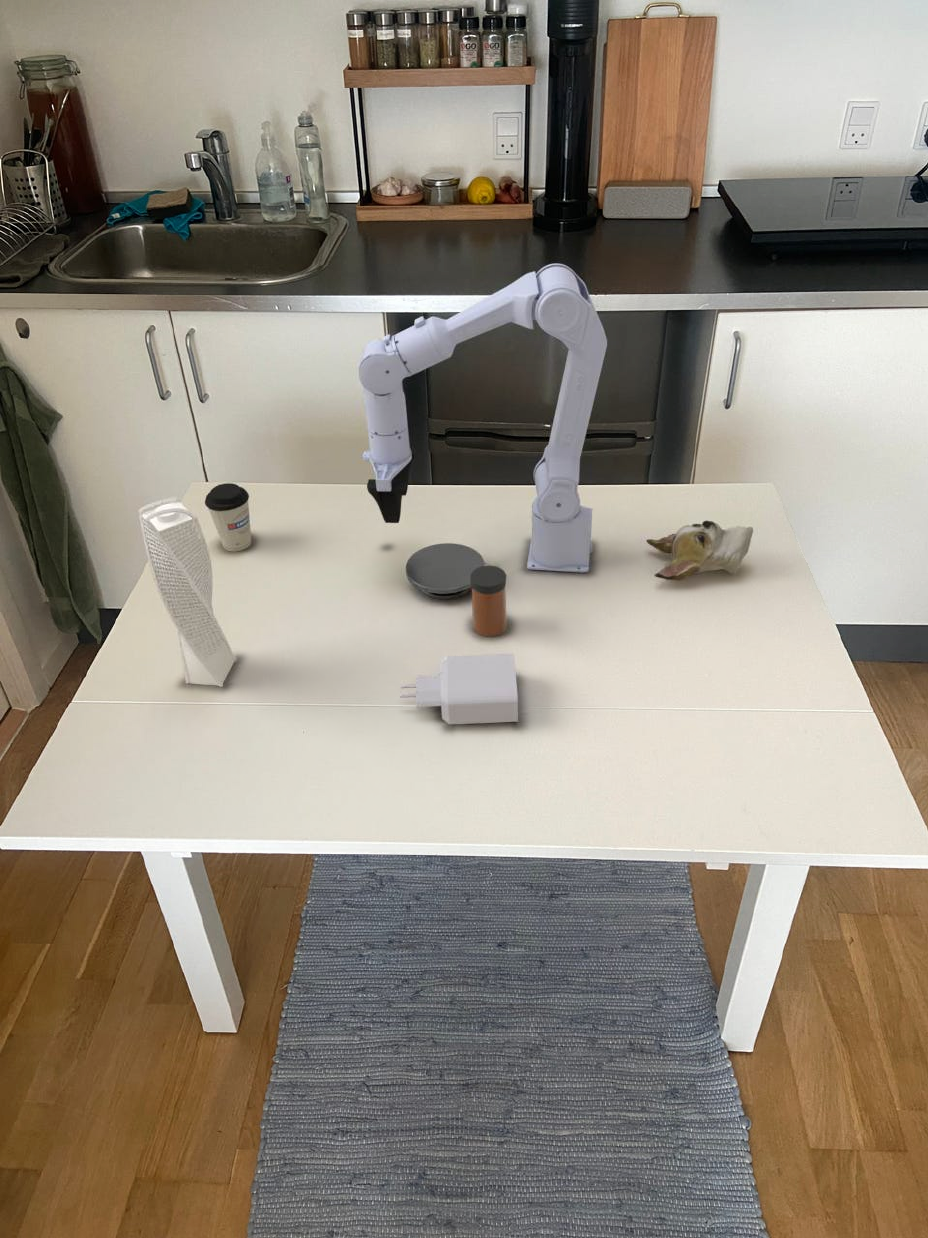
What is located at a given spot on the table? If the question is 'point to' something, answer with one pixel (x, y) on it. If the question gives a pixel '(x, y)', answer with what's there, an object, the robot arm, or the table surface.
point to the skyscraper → (186, 589)
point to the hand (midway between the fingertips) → (396, 507)
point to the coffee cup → (230, 515)
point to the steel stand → (443, 570)
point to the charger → (471, 689)
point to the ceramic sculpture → (703, 549)
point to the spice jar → (488, 600)
